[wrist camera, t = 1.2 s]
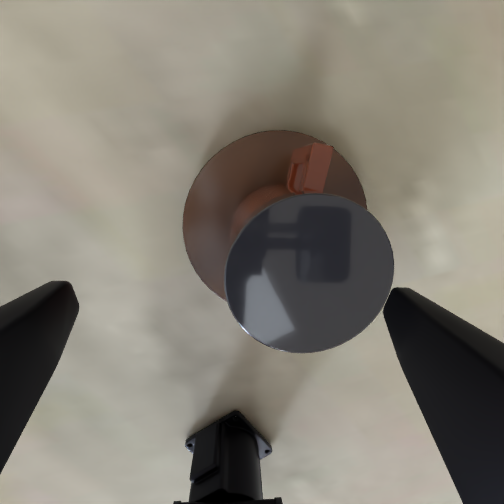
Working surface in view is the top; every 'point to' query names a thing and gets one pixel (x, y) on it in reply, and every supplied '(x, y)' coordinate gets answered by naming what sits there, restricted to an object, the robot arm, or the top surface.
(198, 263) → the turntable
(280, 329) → the orange mug
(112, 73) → the top surface
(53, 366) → the robot arm
